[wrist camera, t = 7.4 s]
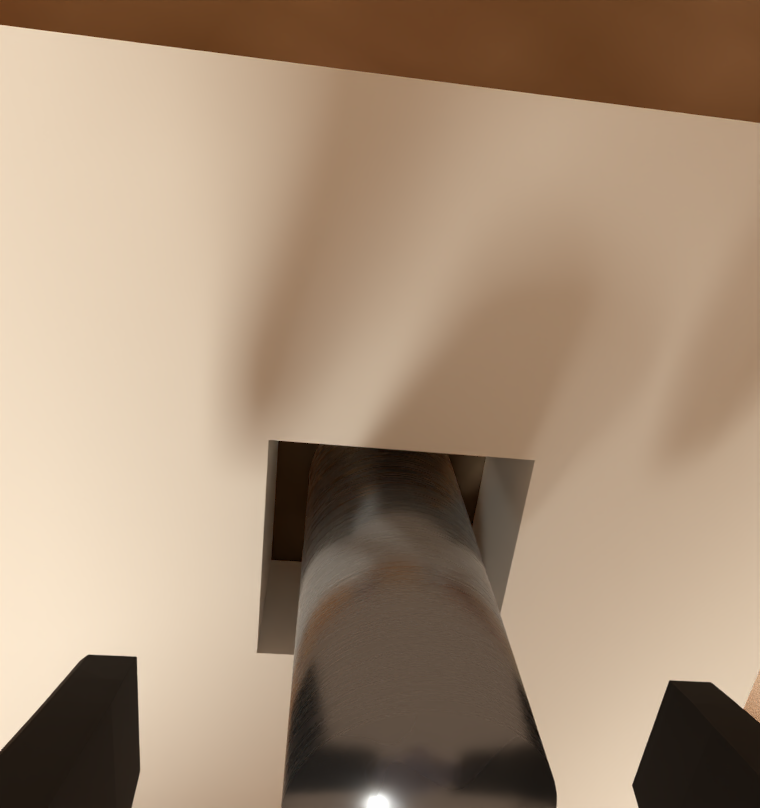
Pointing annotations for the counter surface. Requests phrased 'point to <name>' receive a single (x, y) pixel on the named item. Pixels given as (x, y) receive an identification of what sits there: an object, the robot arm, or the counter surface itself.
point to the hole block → (367, 383)
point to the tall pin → (402, 649)
